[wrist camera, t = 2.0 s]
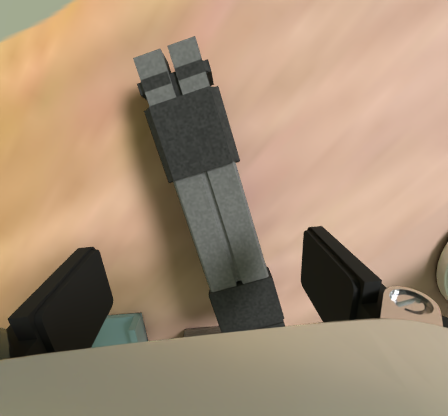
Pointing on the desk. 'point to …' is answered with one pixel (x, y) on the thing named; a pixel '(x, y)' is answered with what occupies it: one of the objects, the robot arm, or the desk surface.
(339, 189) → the desk surface
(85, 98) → the desk surface
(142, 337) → the cradle tray
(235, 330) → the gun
